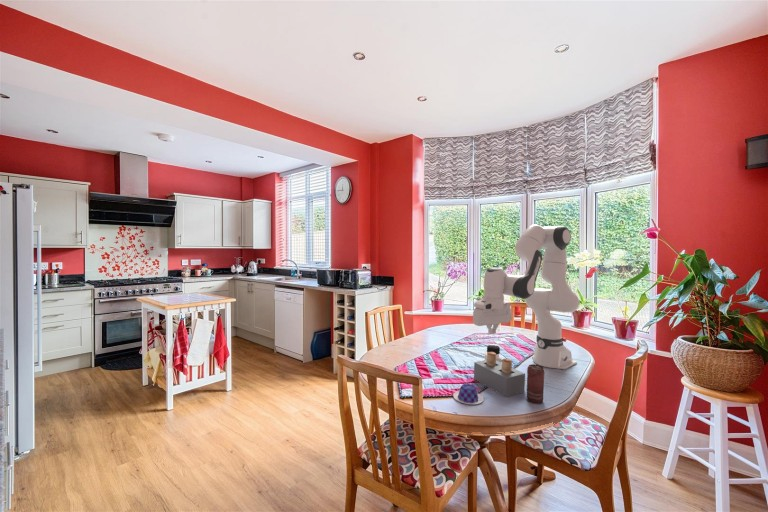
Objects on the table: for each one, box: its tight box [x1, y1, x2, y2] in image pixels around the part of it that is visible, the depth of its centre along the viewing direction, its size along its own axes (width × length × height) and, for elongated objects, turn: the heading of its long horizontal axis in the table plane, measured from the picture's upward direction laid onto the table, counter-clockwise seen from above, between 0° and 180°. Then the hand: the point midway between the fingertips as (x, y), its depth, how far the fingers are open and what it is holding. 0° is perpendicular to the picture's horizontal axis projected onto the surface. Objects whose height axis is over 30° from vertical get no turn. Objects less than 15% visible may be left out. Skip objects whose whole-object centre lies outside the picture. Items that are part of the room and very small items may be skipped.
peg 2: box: [501, 358, 513, 374], centre depth 142 cm, size 4×4×8 cm
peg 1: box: [486, 351, 496, 367], centre depth 151 cm, size 4×4×8 cm
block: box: [473, 359, 526, 398], centre depth 147 cm, size 11×19×8 cm, turn 26°
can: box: [526, 363, 545, 405], centre depth 133 cm, size 6×6×14 cm
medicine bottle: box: [484, 344, 503, 363], centre depth 165 cm, size 7×7×12 cm
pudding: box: [452, 383, 485, 405], centre depth 135 cm, size 12×12×5 cm
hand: (492, 333), depth 150 cm, fingers closed
